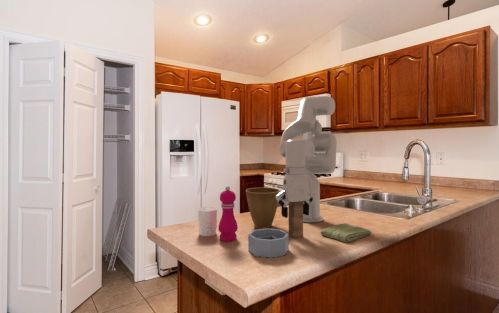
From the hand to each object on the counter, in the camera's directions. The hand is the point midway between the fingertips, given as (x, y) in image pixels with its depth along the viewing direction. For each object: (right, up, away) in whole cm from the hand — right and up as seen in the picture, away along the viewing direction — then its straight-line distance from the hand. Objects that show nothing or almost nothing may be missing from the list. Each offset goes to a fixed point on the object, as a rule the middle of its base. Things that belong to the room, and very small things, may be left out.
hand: (295, 215), depth 109 cm
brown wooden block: (0, -8, +1) cm, 8 cm away
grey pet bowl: (-11, -9, -15) cm, 20 cm away
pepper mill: (-26, -8, -3) cm, 27 cm away
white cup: (-35, -8, +4) cm, 36 cm away
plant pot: (-12, -8, +15) cm, 20 cm away
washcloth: (+20, -8, +2) cm, 22 cm away
